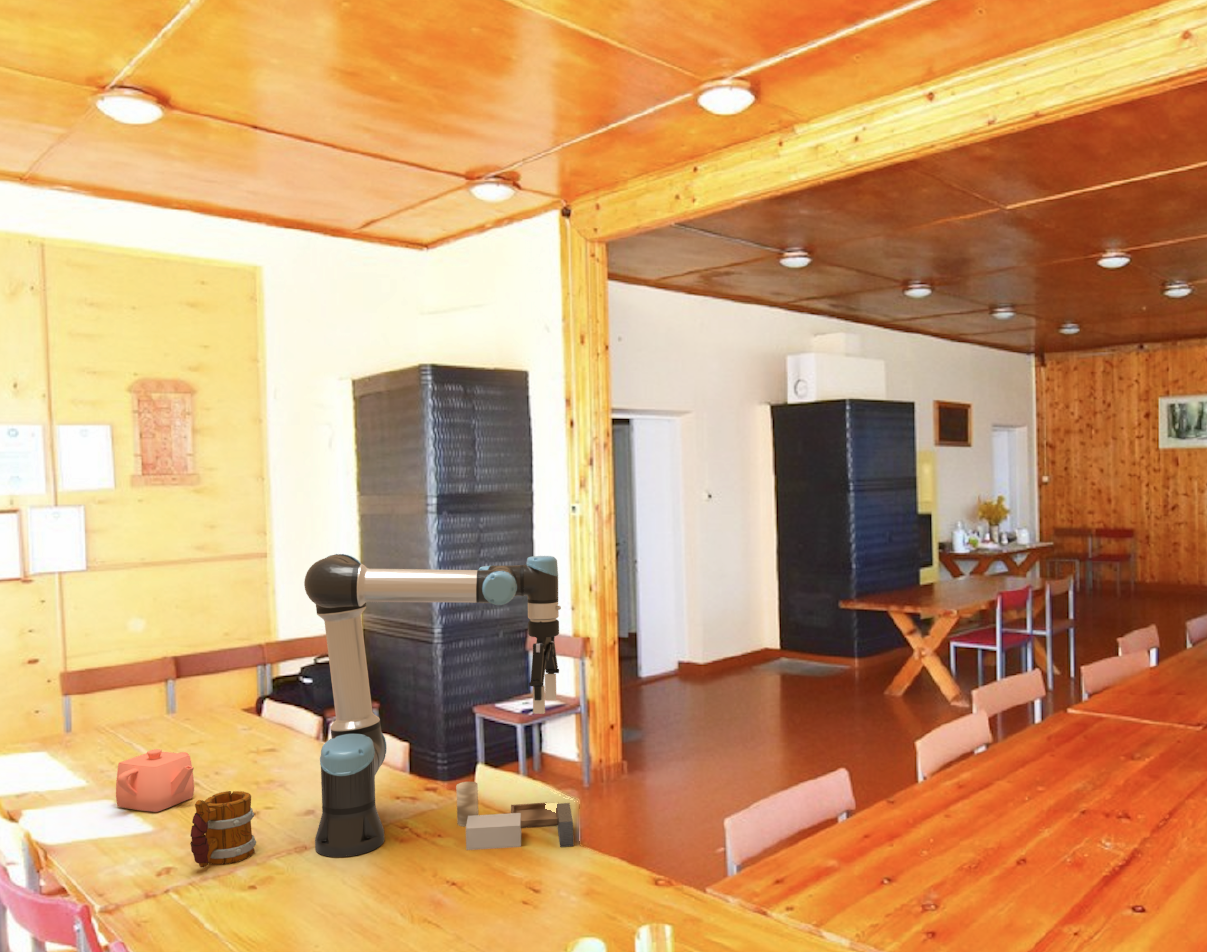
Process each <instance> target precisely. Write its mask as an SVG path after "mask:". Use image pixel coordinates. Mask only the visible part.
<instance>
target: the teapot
mask: <svg viewBox="0 0 1207 952" xmlns="http://www.w3.org/2000/svg"><path fill="white" fill-rule="evenodd" d="M193 771H194V767H193V764H192V759H191V755H189V753H188V752H184V751H182V752H171V751H163V750H162V749H159V748H156V749H150V750H148V751H147V752H146V753H144V754H140V755H137V756H134V757H131V758H128V759H125V760H123V761H120V762H118V766H117V773H116V783H115V798H116V799H115V800H116V805H117V807H119V808H123V809H130V810H136V811H143V812H155V813H157V812H161V811H163V810H165V809H168V808H171V807H173V806H176V805H178V804H181V803H184V802H185V801H188V800H190V799H192V798H193V797H194V791H195V780H194V772H193Z"/></svg>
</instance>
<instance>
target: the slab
mask: <svg viewBox="0 0 1207 952" xmlns="http://www.w3.org/2000/svg"><path fill="white" fill-rule="evenodd" d="M465 845H466V846H465V848H466V849H465V850H466V851H473V850H489V849H490V850H491V849H506V848H522V828H521V813H511V812H510V813H495V814H480V815H479V814H478V815H474V816H468V819H467V824H466V827H465Z"/></svg>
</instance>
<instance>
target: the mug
mask: <svg viewBox="0 0 1207 952" xmlns="http://www.w3.org/2000/svg"><path fill="white" fill-rule="evenodd" d="M251 804H252V795H251V794H250V793H249V792H246V791H241V790H238V791H237V790H235V791H234V790H233V791H230V790H226V791H222V792H217V793H215V794H213V795H212V796H209V797H208V798H206V799H205V800H202V799H199V800H196V802H195V803H194V807H195V813H194V815H193V816H192V821H191V823H192V824H193V825H192V826H191V830H190V837H191V841H190V851H191V853H192V855H193V857H194V861H195V862H196V863H197V864H198V865H199V868H206V867H208V866H209V864H210V865H225V864H226V865H228V864H229V863H230V864H232V863H237V862H240V861H243V860H246V859H247V858H250V857H251V856H252V855H254V853H255V847H256V845H257V841H256V839H255V836H254V834H253V833H252V832H253V831H252V823H251V822H252V819H253V818H254V817H255V813H254V812H253V808H252V807H251V806H252V805H251ZM249 856H250V857H249ZM230 864H229V865H230Z"/></svg>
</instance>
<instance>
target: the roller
mask: <svg viewBox="0 0 1207 952" xmlns="http://www.w3.org/2000/svg"><path fill="white" fill-rule="evenodd" d="M455 788H456V815H457V816H456V818H457V820H456V822H457V826H459V827H465V828H466V824H467V819H468V816H474V815H479V793H478V791H479V790H478V788H479V787H478V782H475V781H462V782H460V783H457V784H456V786H455Z"/></svg>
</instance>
